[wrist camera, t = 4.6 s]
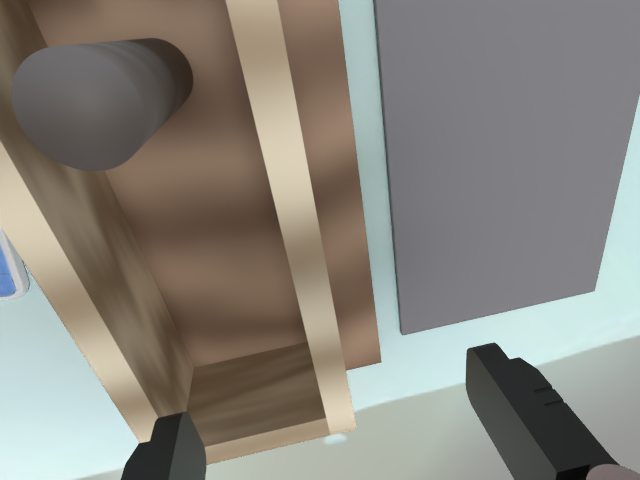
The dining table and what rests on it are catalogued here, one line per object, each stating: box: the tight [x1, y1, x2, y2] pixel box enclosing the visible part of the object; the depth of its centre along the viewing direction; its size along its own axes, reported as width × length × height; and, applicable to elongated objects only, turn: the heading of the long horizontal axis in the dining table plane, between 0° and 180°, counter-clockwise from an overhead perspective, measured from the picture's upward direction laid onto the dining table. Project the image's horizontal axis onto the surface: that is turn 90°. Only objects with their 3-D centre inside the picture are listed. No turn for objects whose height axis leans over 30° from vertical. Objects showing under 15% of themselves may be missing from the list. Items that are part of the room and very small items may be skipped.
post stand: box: [11, 0, 381, 370], centre depth 18 cm, size 28×17×10 cm, turn 10°
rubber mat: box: [374, 0, 640, 335], centre depth 22 cm, size 30×15×1 cm, turn 10°
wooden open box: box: [0, 0, 356, 465], centre depth 18 cm, size 24×11×6 cm, turn 10°
